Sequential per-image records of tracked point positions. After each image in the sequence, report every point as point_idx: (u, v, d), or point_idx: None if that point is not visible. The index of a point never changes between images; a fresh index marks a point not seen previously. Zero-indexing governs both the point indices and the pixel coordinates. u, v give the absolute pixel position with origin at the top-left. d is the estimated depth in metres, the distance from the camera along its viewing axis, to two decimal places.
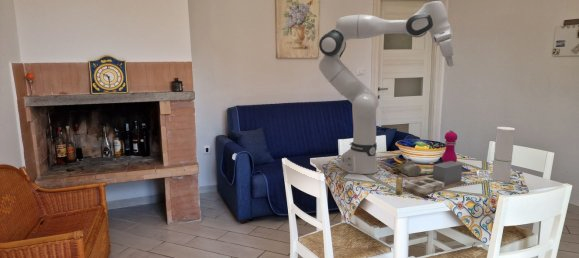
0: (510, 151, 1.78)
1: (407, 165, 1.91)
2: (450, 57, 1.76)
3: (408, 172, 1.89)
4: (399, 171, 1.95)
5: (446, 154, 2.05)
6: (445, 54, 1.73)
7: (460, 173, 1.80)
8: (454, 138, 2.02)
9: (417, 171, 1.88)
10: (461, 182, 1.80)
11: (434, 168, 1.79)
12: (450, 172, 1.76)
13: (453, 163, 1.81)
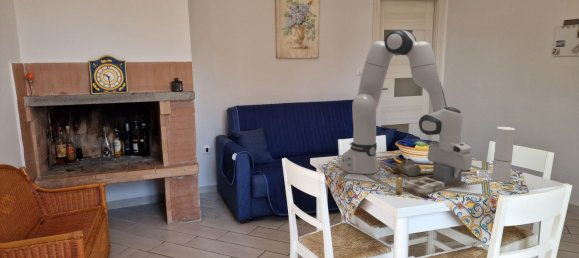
0: (510, 151, 1.78)
1: (407, 165, 1.92)
2: (459, 169, 1.75)
3: (408, 172, 1.89)
4: (399, 171, 1.95)
5: None
6: (466, 167, 1.70)
7: (460, 173, 1.80)
8: None
9: (417, 171, 1.88)
10: (461, 182, 1.80)
11: (434, 168, 1.79)
12: (450, 172, 1.76)
13: None
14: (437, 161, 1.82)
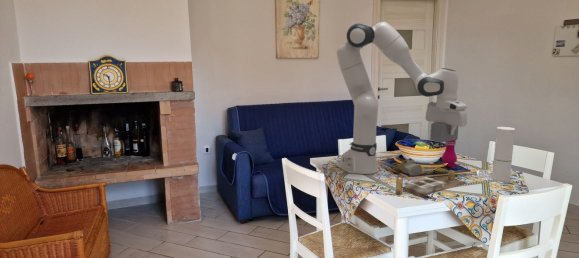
0: (510, 151, 1.78)
1: (408, 164, 1.92)
2: (455, 126, 1.85)
3: (410, 171, 1.90)
4: (400, 170, 1.95)
5: (446, 154, 2.05)
6: (462, 124, 1.80)
7: (456, 131, 1.90)
8: None
9: (419, 170, 1.89)
10: (461, 182, 1.80)
11: (432, 126, 1.89)
12: (447, 129, 1.86)
13: None
14: (434, 120, 1.92)
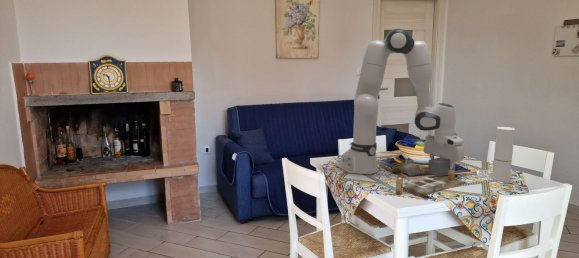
0: (510, 151, 1.78)
1: (407, 164, 1.93)
2: (455, 161, 1.88)
3: (408, 171, 1.90)
4: (399, 170, 1.96)
5: None
6: (459, 159, 1.83)
7: (453, 167, 1.94)
8: None
9: (417, 170, 1.89)
10: (461, 182, 1.80)
11: (429, 163, 1.92)
12: (444, 166, 1.90)
13: None
14: (432, 153, 1.95)
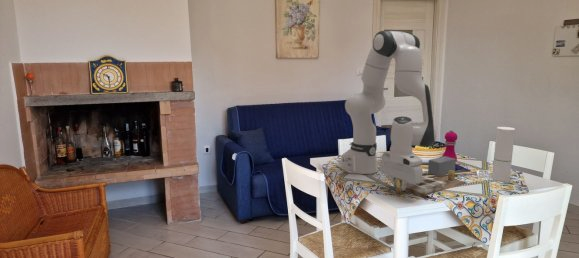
0: (510, 151, 1.78)
1: None
2: (407, 181, 1.67)
3: None
4: None
5: (446, 154, 2.05)
6: (416, 181, 1.60)
7: (453, 167, 1.94)
8: (454, 138, 2.02)
9: None
10: (461, 182, 1.80)
11: (429, 163, 1.92)
12: (444, 166, 1.90)
13: (447, 158, 1.94)
14: (389, 173, 1.72)
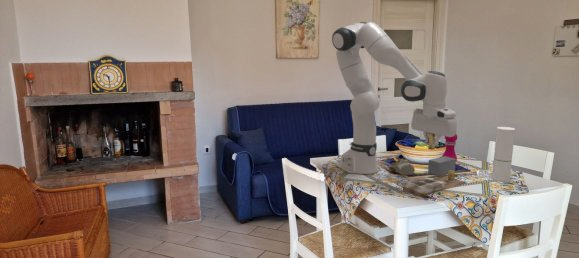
0: (510, 151, 1.78)
1: (401, 164, 1.94)
2: (440, 135, 1.67)
3: (400, 170, 1.91)
4: (394, 169, 1.97)
5: (446, 154, 2.05)
6: (451, 134, 1.61)
7: (453, 167, 1.94)
8: (454, 138, 2.02)
9: (409, 170, 1.90)
10: (461, 182, 1.80)
11: (429, 163, 1.92)
12: (444, 166, 1.90)
13: (447, 158, 1.94)
14: (421, 129, 1.72)
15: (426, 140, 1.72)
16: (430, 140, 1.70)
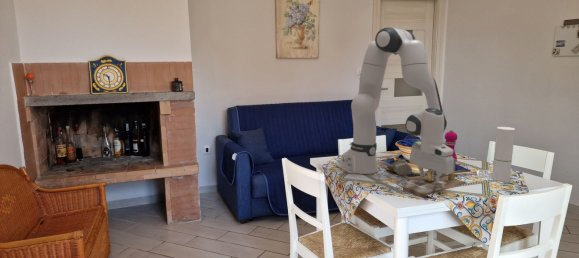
0: (510, 151, 1.78)
1: (398, 163, 1.94)
2: (441, 172, 1.69)
3: (397, 170, 1.92)
4: (392, 169, 1.98)
5: None
6: (448, 171, 1.64)
7: None
8: (454, 138, 2.02)
9: (406, 170, 1.90)
10: (461, 182, 1.80)
11: None
12: None
13: None
14: (419, 164, 1.75)
15: (421, 174, 1.76)
16: (428, 178, 1.73)
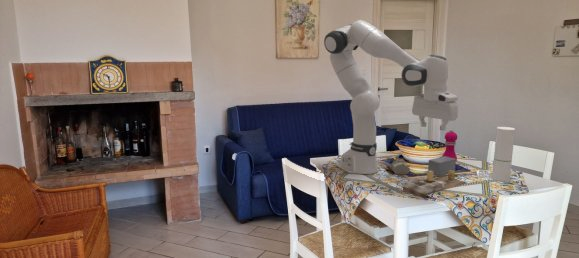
0: (510, 151, 1.78)
1: (396, 163, 1.95)
2: (447, 121, 1.64)
3: (394, 170, 1.92)
4: (390, 168, 1.99)
5: (446, 154, 2.05)
6: (452, 117, 1.59)
7: (453, 167, 1.94)
8: (454, 138, 2.02)
9: (403, 169, 1.90)
10: (461, 182, 1.80)
11: (429, 163, 1.92)
12: (444, 166, 1.90)
13: (447, 158, 1.94)
14: (422, 114, 1.71)
15: (422, 124, 1.73)
16: (428, 178, 1.73)
